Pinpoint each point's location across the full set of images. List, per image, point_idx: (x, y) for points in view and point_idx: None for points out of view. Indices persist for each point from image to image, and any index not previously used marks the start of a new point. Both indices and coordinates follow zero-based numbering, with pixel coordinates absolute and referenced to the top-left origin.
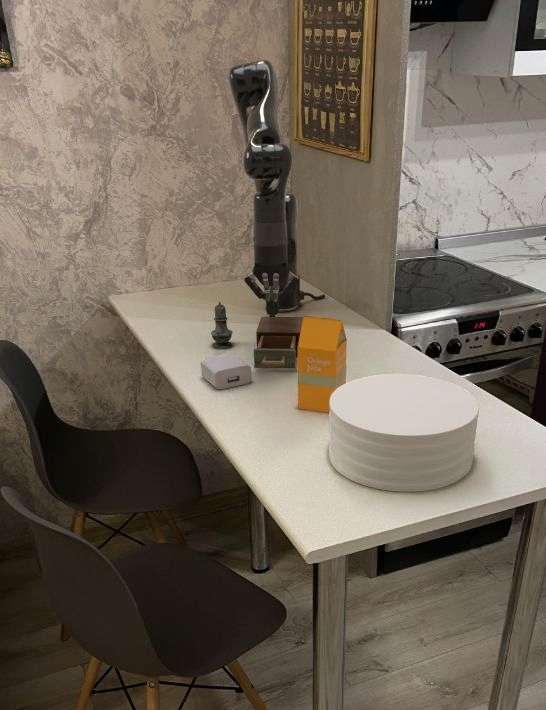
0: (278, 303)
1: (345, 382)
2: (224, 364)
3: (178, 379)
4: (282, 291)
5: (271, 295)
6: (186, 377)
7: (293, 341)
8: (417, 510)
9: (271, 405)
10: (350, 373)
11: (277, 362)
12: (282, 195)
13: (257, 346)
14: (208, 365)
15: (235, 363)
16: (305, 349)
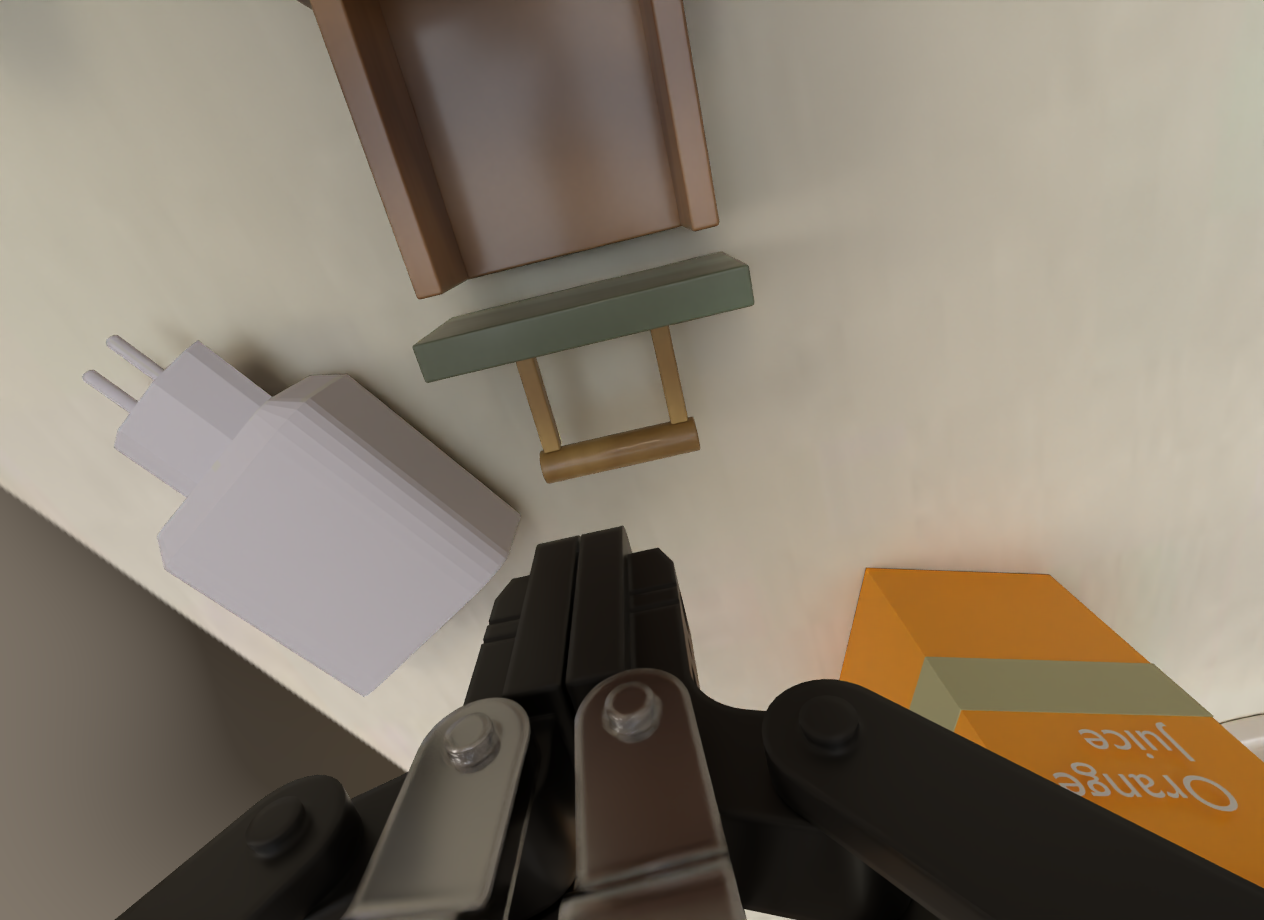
0: (690, 665)
1: (1119, 640)
2: (349, 611)
3: (123, 563)
4: (830, 834)
5: (527, 748)
6: (143, 530)
7: (678, 52)
8: None
9: (712, 696)
10: (1092, 204)
11: (654, 459)
12: None
13: (309, 4)
14: (257, 626)
15: (406, 580)
16: None
